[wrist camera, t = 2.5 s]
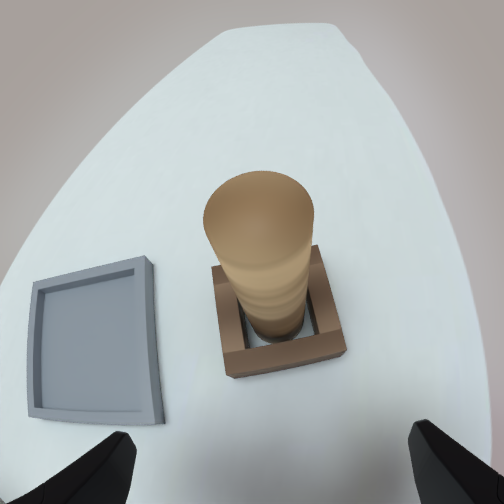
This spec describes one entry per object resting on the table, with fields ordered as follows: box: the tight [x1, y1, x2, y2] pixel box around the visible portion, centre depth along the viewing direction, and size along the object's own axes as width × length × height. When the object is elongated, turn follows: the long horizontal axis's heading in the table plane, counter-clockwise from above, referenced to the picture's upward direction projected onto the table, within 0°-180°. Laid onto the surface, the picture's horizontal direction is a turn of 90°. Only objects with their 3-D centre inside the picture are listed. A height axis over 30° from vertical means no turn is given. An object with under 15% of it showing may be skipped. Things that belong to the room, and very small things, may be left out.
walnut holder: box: [212, 245, 347, 379], centre depth 22 cm, size 8×8×3 cm
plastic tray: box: [27, 256, 165, 425], centre depth 23 cm, size 14×14×2 cm
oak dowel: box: [203, 171, 314, 344], centre depth 17 cm, size 4×4×14 cm
